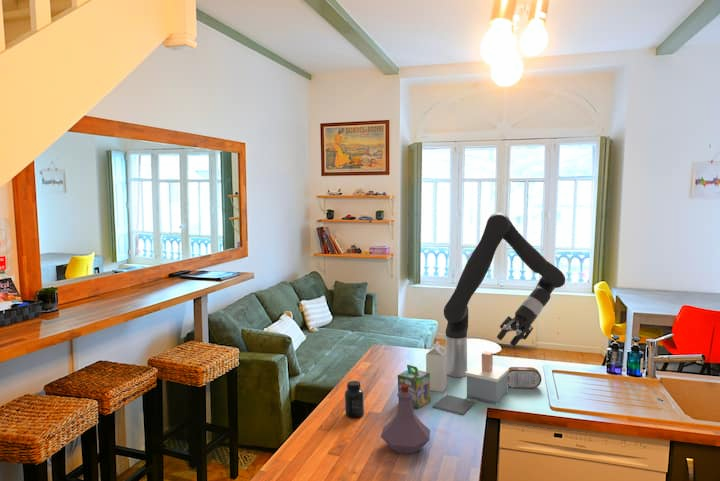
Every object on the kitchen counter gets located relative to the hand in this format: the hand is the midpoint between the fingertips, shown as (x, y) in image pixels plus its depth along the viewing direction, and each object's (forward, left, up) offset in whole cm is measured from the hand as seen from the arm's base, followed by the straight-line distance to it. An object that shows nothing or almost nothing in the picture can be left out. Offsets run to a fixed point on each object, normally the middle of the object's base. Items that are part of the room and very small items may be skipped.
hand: (505, 341), depth 192 cm
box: (-5, -7, -21) cm, 22 cm away
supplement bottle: (-39, -49, -21) cm, 66 cm away
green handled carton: (-26, -28, -21) cm, 43 cm away
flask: (-12, -58, -21) cm, 63 cm away
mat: (-12, -22, -21) cm, 32 cm away
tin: (+4, +8, -21) cm, 23 cm away
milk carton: (-25, -11, -21) cm, 34 cm away
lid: (-5, -7, -12) cm, 14 cm away
